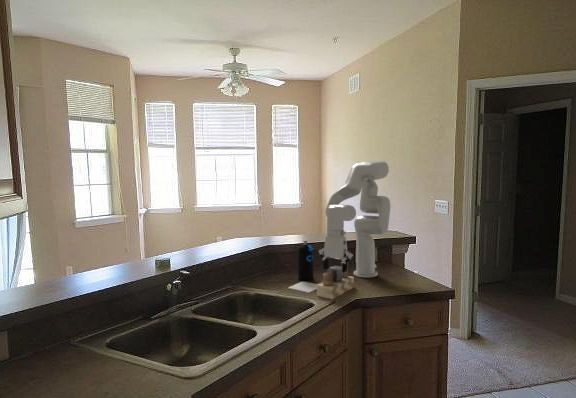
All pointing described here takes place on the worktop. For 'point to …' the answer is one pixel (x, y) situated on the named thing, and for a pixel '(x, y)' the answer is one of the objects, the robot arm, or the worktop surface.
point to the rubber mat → (304, 287)
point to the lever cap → (336, 273)
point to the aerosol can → (305, 262)
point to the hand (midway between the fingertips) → (335, 270)
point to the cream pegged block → (334, 285)
